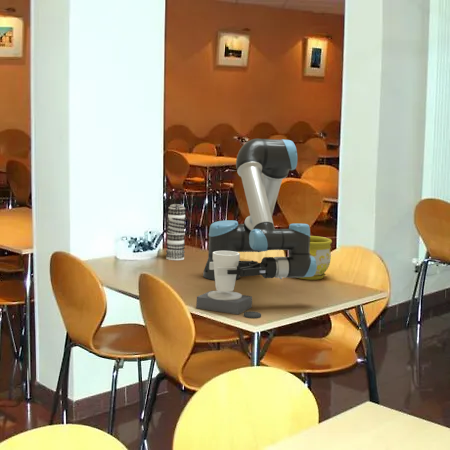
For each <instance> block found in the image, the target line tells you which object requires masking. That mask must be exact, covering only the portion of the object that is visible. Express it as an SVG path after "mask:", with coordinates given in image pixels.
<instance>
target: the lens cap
mask: <svg viewBox="0 0 450 450" xmlns="http://www.w3.org/2000/svg"><path fill="white" fill-rule="evenodd" d="M243 317H244V318H247V319H260V318H262V313H261V312H259V311H251V310H250V311H249V310H247V311H244V312H243Z"/></svg>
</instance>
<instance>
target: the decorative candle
mask: <svg viewBox="0 0 450 450" xmlns="http://www.w3.org/2000/svg"><path fill="white" fill-rule="evenodd" d="M167 208H168V214H167V219H166V225H167V226H166V234H167V241H166V243H165V246H166V247H165V249H166V251H165V253H166V254H165V258H166V260H169V261H184V260H185V253H186V251H185V249H186V247H185V245H186V244H185V234H186V231H185V230H186V229H187V228H186V225H187V224H186V223H185V222H187V216H186V207H185V206H184V204H179V203H173V204H170V205H169V206H168V207H167Z"/></svg>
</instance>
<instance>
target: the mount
mask: <svg viewBox="0 0 450 450" xmlns="http://www.w3.org/2000/svg"><path fill="white" fill-rule="evenodd" d="M252 307H253V296H251V295H245V294H242V293H240V292H237V291H234V290H233V291H218V290H210V291H207V292H205V293H203V294H200V295H198V296H196V309H200V310H205V311H206V310H207V311H214V312H218V313H219V312H220V313H226V314H232V315H239V314H242V313H244V312H247V311H249V310H250V309H251V308H252Z"/></svg>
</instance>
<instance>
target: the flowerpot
mask: <svg viewBox="0 0 450 450" xmlns="http://www.w3.org/2000/svg"><path fill="white" fill-rule="evenodd" d="M332 243H333V241H332V239H331V238H330V237H329V238H328V237H325V236H318V235H317V236H316V235H310V256H312V257H314V258H315V260H316V264H317V269H316V273H315V274H314V276H312V277H303V278H302V277H299V278H298V279H300V280H307V281H308V280H309V281H316V280H322V279H324V277H325V276H326V271H327V270H328V268H329V267H330V265H331V248H332V246H331V244H332Z"/></svg>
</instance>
